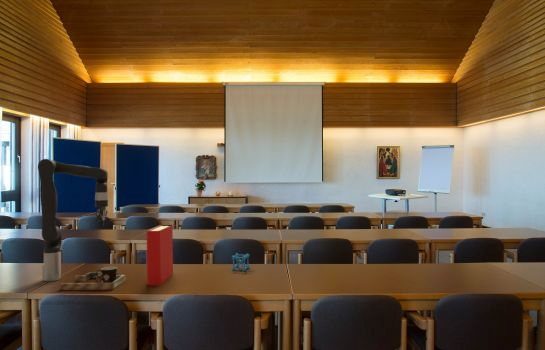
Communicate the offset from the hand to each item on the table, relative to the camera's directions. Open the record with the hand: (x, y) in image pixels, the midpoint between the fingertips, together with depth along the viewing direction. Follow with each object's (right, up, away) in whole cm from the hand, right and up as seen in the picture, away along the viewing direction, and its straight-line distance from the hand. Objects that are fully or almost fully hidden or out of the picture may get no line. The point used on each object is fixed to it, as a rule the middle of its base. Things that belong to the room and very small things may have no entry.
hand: (101, 226), depth 264 cm
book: (+40, -32, -10) cm, 52 cm away
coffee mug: (+12, -32, -22) cm, 41 cm away
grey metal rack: (+4, -32, -18) cm, 37 cm away
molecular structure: (+88, -31, +14) cm, 95 cm away
